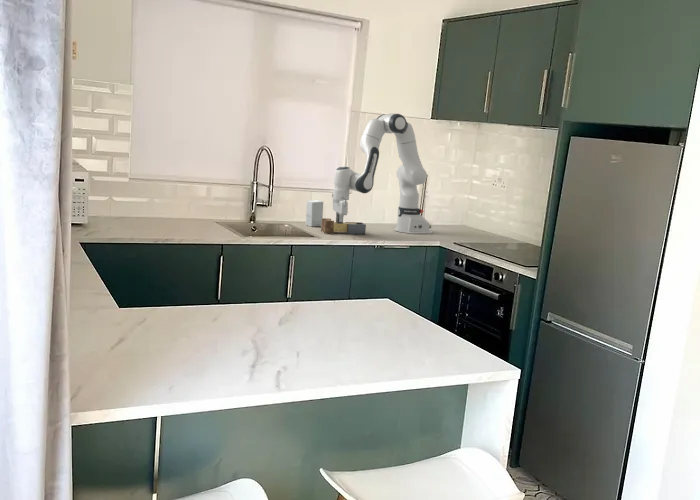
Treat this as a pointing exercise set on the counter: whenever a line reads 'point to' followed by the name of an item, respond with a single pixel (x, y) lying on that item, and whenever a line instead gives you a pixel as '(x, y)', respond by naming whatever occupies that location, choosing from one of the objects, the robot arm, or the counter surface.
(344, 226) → the tan block
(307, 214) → the skincare box
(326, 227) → the brown wooden box
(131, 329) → the counter surface
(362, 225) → the sleeve
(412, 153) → the robot arm
